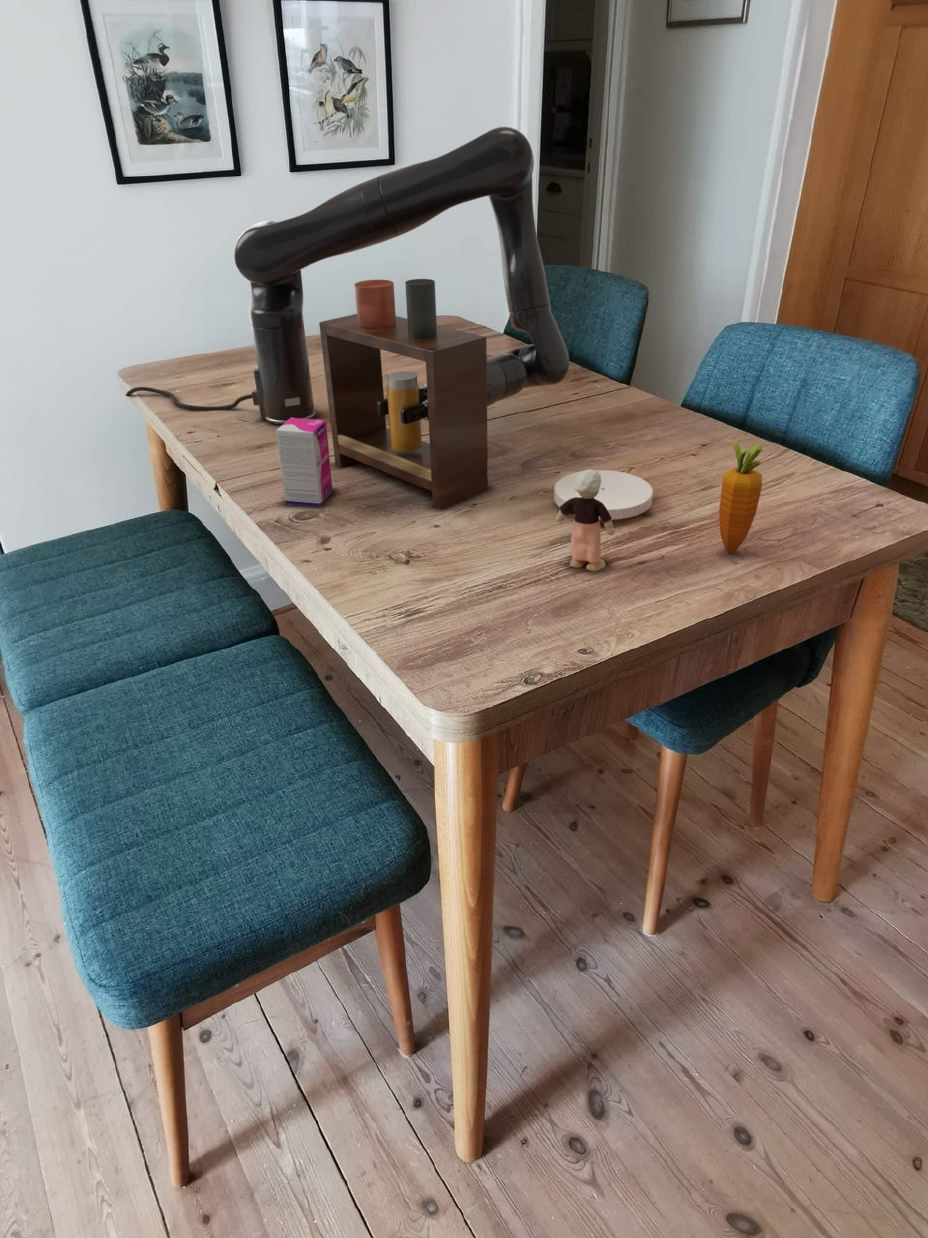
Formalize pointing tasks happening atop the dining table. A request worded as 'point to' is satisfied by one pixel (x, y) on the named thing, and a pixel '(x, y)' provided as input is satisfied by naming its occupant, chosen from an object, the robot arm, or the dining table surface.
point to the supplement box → (304, 461)
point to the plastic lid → (611, 493)
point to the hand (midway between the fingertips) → (390, 412)
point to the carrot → (739, 498)
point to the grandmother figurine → (587, 521)
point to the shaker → (401, 396)
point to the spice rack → (452, 390)
